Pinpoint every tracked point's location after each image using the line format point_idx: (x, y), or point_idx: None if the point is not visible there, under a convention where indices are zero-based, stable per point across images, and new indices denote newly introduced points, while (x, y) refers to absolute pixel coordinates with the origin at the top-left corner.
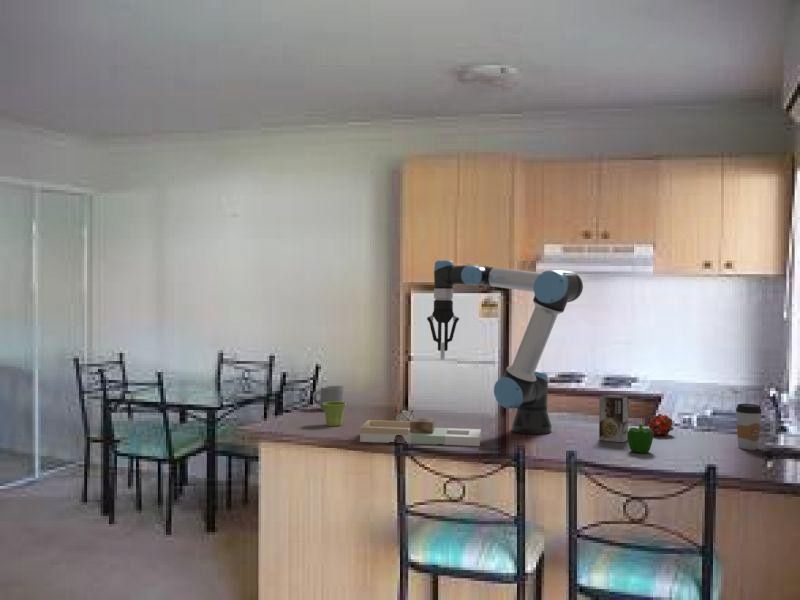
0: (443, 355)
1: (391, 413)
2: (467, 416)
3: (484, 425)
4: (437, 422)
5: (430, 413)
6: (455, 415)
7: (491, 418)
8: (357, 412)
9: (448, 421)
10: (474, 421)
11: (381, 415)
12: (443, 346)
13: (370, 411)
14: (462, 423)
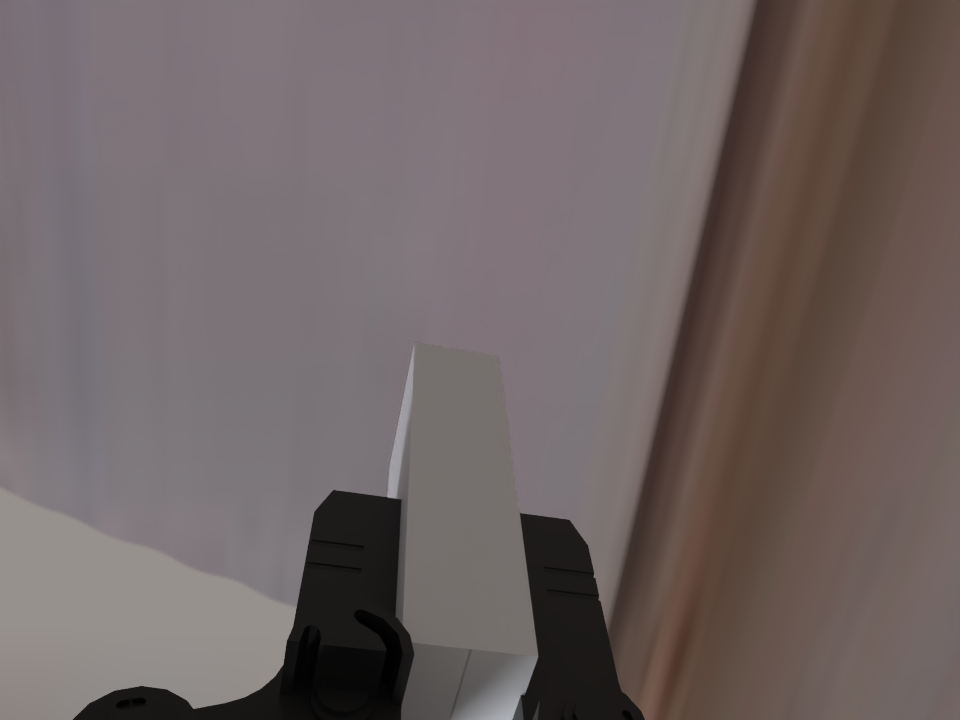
0: (432, 395)
1: (731, 572)
2: (201, 483)
3: (46, 92)
4: (457, 239)
5: None
6: (290, 517)
7: (9, 411)
8: (945, 597)
9: (361, 283)
10: (143, 285)
11: (820, 505)
12: (435, 553)
13: (849, 629)
14: (247, 193)
